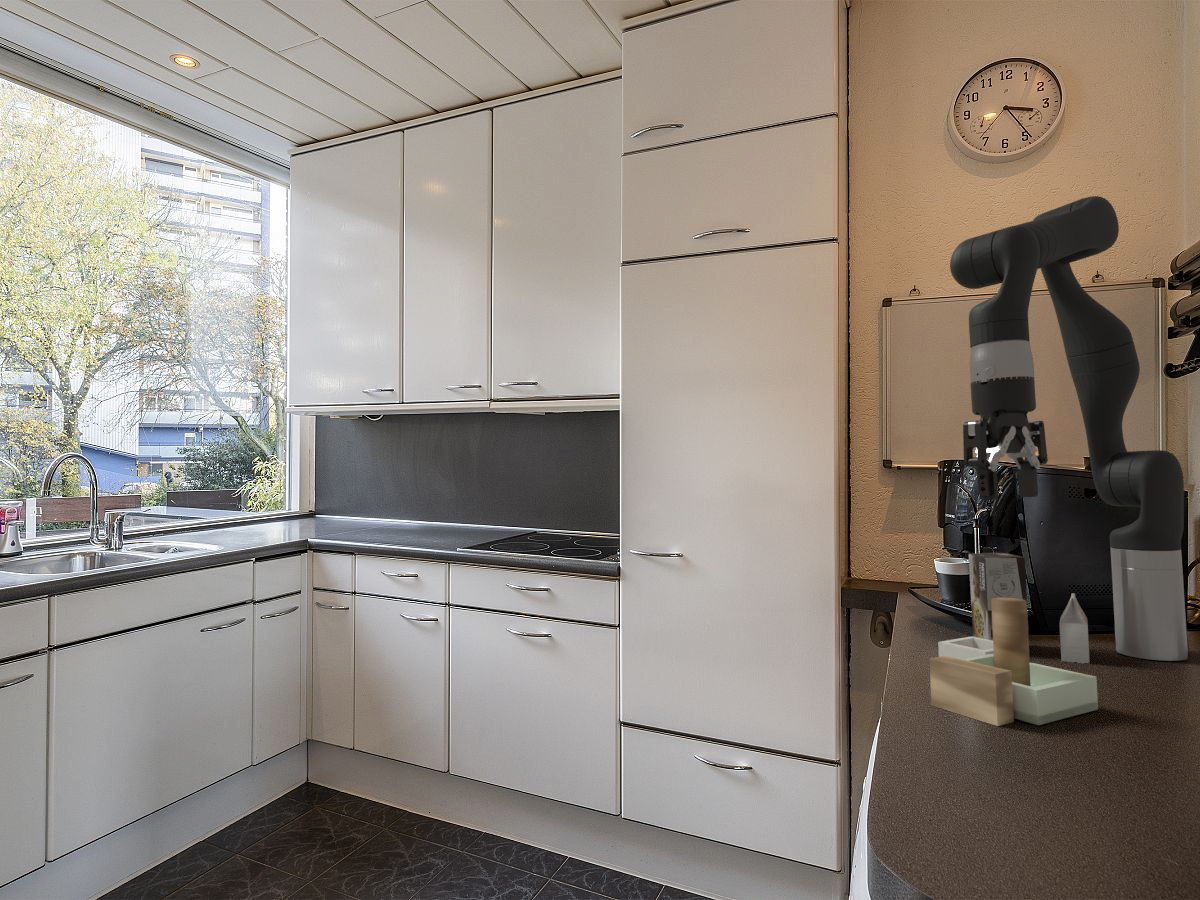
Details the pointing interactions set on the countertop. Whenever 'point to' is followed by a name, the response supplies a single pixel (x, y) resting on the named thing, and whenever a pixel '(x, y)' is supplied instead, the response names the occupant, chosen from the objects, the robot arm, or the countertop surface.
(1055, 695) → the tray
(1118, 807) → the countertop surface
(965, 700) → the rectangular wooden block
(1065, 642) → the white gable carton
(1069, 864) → the countertop surface
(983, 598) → the coffee box
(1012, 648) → the dowel
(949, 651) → the socket block
